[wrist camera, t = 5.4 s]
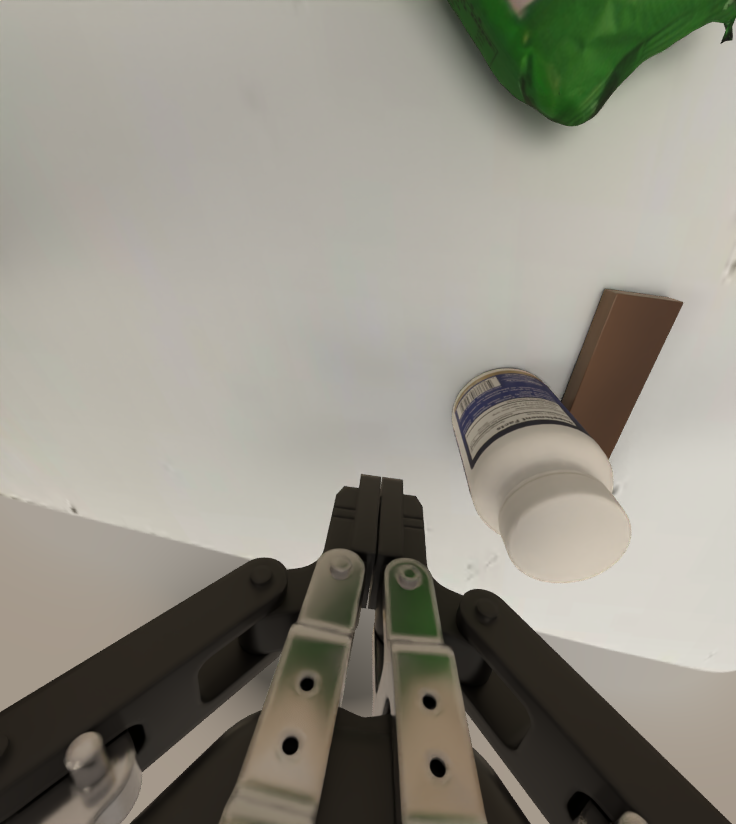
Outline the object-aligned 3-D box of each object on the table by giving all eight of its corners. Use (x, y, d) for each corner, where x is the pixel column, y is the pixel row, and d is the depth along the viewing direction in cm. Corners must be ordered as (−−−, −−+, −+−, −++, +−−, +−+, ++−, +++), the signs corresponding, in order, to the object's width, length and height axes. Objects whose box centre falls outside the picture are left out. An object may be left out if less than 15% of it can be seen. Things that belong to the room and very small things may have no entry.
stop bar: (527, 490, 24) (533, 503, 23) (604, 288, 19) (617, 293, 18) (576, 497, 24) (584, 510, 23) (667, 297, 19) (684, 302, 18)
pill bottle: (544, 451, 23) (635, 600, 14) (449, 453, 23) (480, 598, 15) (558, 362, 20) (677, 475, 12) (452, 367, 21) (491, 478, 12)
